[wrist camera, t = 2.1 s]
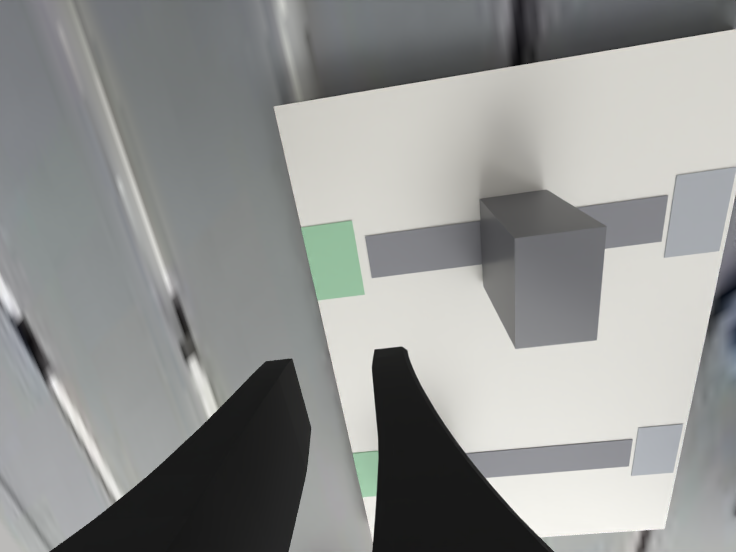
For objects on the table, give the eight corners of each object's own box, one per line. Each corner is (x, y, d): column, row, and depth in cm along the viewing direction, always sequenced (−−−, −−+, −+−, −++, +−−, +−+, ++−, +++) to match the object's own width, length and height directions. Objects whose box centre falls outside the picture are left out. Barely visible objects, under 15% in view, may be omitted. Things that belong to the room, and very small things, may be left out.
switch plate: (734, 29, 14) (773, 23, 13) (648, 503, 24) (665, 529, 23) (283, 104, 16) (273, 106, 14) (374, 523, 25) (374, 549, 24)
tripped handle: (546, 189, 15) (607, 226, 11) (544, 279, 16) (597, 340, 12) (479, 198, 15) (514, 238, 11) (483, 286, 17) (515, 348, 13)
